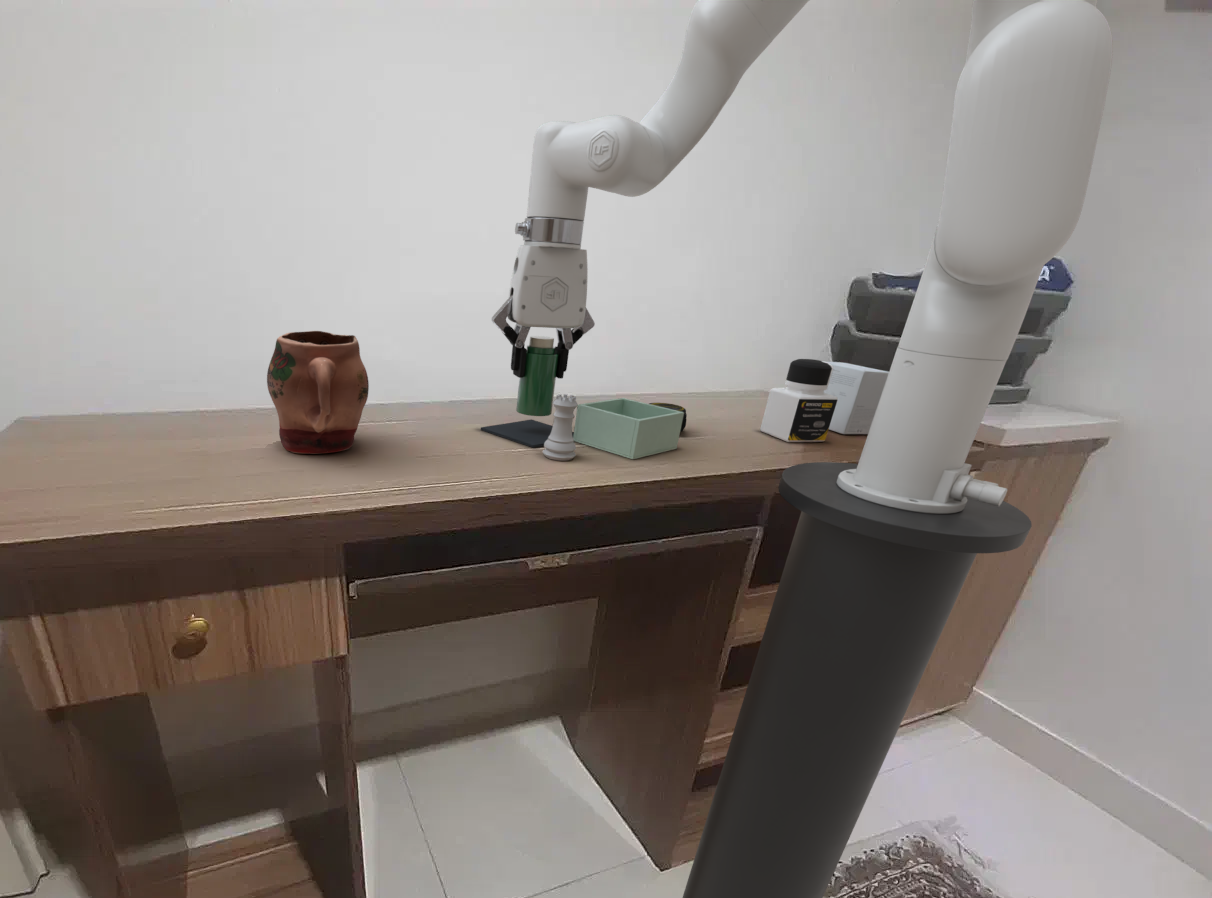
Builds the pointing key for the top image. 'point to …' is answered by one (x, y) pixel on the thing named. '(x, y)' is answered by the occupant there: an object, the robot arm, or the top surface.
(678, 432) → the case
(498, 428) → the mat
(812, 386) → the medicine bottle
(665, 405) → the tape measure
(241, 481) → the top surface
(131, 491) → the top surface
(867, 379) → the cosmetics box
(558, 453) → the rook chess piece
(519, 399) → the green bottle
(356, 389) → the brown clay mug
